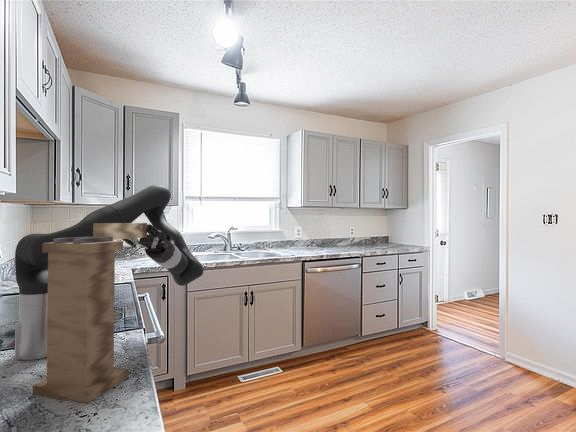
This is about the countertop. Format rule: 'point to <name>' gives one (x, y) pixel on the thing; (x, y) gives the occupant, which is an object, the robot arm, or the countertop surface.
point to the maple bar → (120, 230)
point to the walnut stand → (80, 319)
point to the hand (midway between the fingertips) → (133, 227)
